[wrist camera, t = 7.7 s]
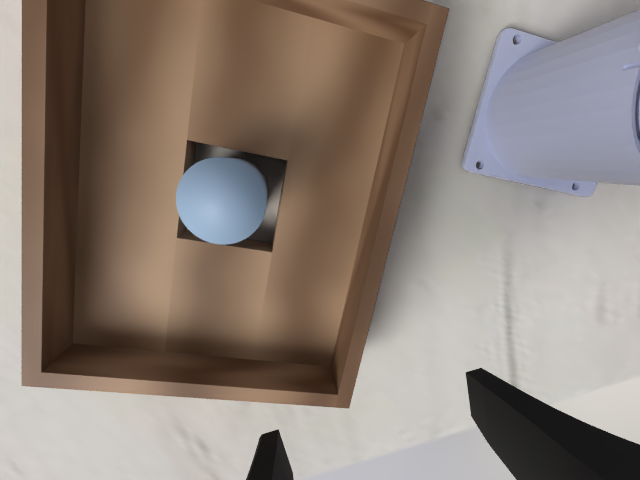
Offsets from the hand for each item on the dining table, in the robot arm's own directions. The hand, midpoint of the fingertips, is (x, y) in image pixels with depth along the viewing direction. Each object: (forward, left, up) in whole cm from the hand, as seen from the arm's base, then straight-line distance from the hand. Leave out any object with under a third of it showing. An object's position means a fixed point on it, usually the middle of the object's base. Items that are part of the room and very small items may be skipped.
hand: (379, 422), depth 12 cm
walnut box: (+7, -6, -10) cm, 14 cm away
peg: (+7, -6, -10) cm, 14 cm away
